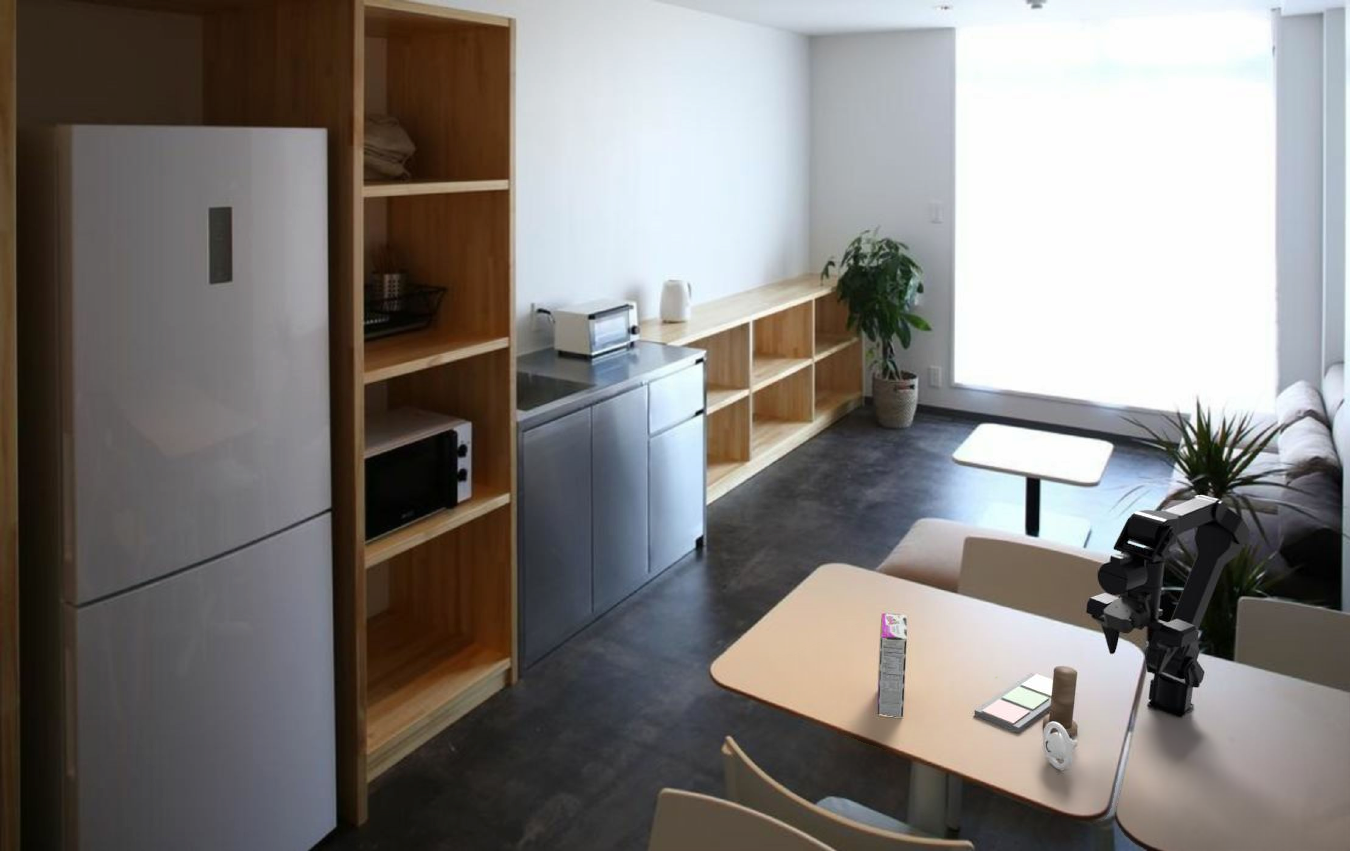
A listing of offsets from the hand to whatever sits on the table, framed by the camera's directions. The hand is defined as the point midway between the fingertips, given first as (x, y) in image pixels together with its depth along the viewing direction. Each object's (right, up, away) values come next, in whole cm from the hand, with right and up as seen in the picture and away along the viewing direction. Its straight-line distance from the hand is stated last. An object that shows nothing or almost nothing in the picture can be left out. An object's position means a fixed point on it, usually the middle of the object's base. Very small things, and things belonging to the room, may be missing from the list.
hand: (1135, 662), depth 190 cm
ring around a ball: (-17, -16, -10) cm, 25 cm away
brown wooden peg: (-13, -13, +3) cm, 18 cm away
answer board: (-16, -10, +12) cm, 22 cm away
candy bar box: (-42, -11, +11) cm, 45 cm away
